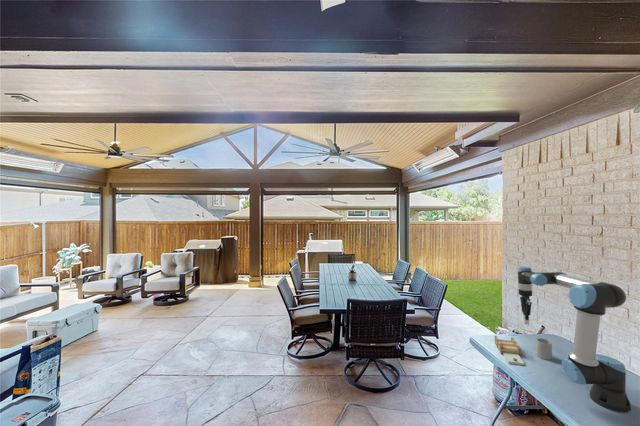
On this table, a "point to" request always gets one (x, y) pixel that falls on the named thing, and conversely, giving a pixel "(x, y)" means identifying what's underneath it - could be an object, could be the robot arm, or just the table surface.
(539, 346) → the mug
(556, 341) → the table surface
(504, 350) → the wooden slatted rack
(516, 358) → the lid
